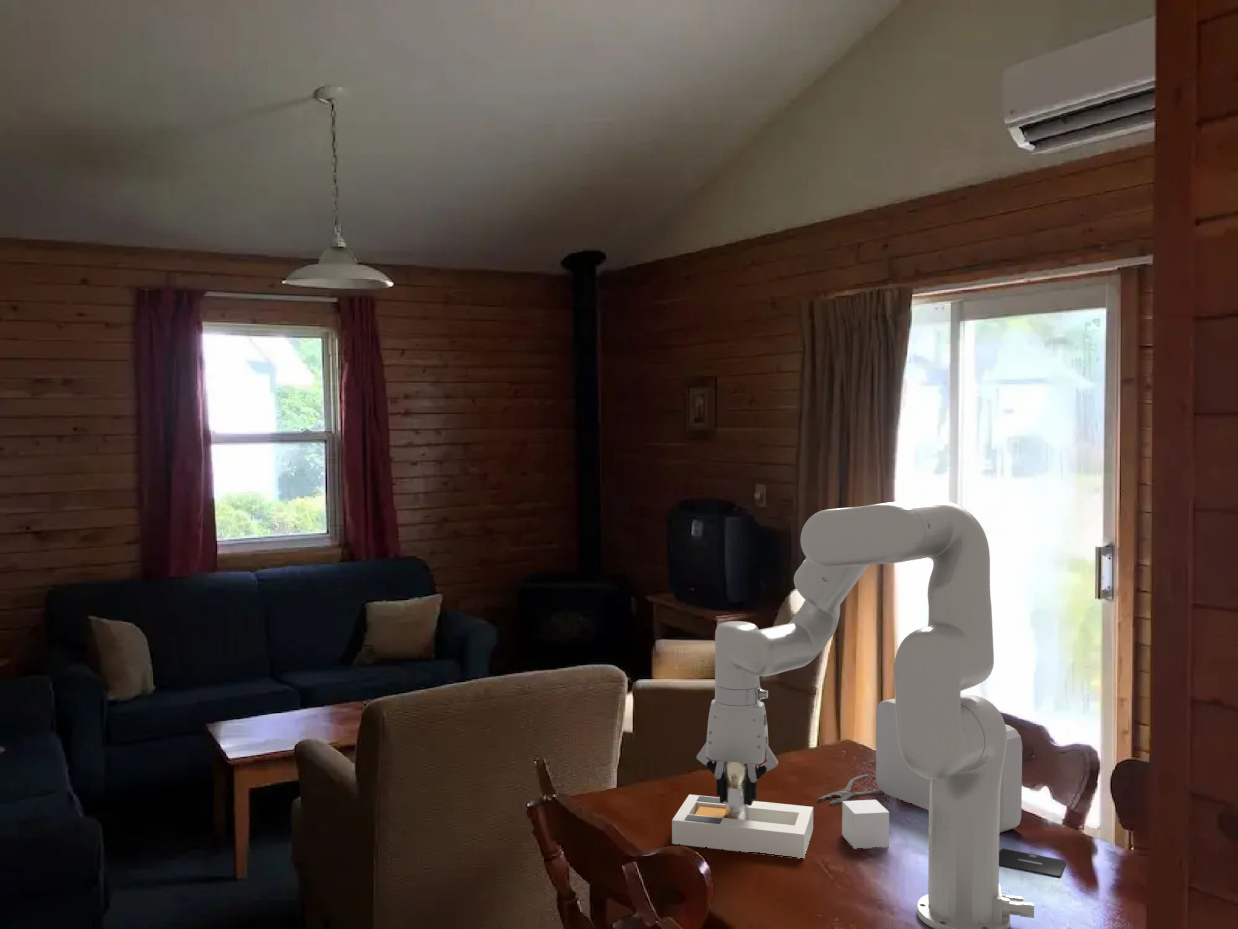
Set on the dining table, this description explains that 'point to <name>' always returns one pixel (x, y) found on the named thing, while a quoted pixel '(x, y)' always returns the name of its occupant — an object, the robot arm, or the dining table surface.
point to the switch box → (745, 828)
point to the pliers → (847, 793)
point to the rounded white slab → (915, 788)
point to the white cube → (865, 824)
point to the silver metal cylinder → (736, 791)
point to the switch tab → (711, 811)
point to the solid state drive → (1031, 863)
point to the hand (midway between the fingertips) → (736, 800)
